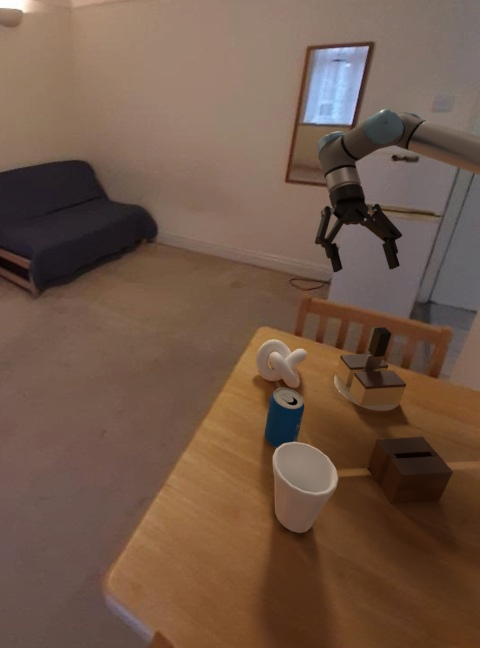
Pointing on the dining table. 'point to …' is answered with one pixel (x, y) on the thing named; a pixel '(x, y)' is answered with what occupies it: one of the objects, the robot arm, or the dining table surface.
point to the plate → (347, 395)
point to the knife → (377, 349)
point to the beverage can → (284, 417)
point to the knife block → (408, 470)
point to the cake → (370, 381)
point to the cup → (301, 484)
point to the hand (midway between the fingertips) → (366, 269)
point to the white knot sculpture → (279, 362)
